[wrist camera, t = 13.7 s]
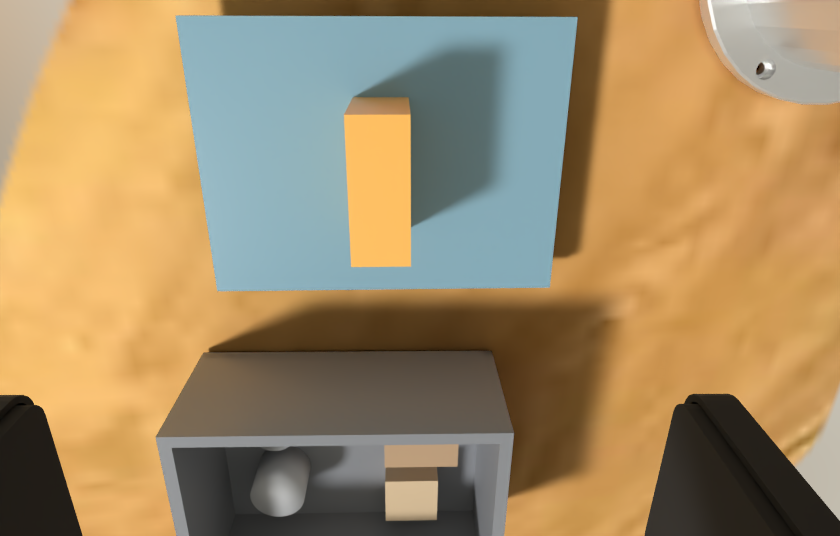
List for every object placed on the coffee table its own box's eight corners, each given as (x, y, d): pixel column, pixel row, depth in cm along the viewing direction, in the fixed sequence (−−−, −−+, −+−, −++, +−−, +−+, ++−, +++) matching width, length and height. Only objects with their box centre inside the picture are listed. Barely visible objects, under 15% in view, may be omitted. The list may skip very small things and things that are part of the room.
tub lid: (565, 16, 26) (614, 18, 20) (540, 271, 31) (574, 333, 25) (191, 15, 26) (128, 17, 20) (228, 274, 31) (187, 338, 25)
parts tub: (491, 350, 33) (514, 433, 27) (479, 510, 38) (496, 612, 31) (203, 352, 32) (155, 437, 26) (229, 514, 37) (194, 619, 31)
